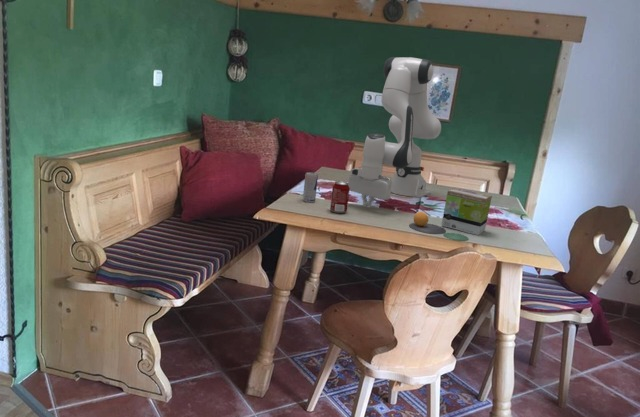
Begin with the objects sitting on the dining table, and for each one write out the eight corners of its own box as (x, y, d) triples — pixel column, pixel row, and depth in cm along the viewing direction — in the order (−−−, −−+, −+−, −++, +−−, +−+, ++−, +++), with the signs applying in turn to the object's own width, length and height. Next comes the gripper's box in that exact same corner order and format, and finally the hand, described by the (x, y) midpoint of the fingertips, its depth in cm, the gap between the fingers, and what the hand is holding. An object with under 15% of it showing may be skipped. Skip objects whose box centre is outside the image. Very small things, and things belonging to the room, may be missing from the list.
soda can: (345, 215, 206) (348, 185, 203) (328, 212, 207) (331, 183, 204) (347, 211, 212) (351, 182, 209) (331, 208, 213) (334, 180, 210)
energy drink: (316, 201, 224) (319, 173, 221) (312, 203, 219) (315, 175, 216) (305, 198, 226) (308, 171, 223) (300, 201, 221) (303, 173, 218)
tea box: (440, 226, 204) (446, 190, 201) (448, 222, 213) (454, 187, 209) (478, 236, 197) (485, 198, 193) (485, 231, 205) (492, 194, 202)
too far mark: (450, 231, 198) (450, 231, 198) (472, 238, 192) (472, 237, 192) (439, 235, 191) (439, 235, 191) (461, 242, 186) (461, 241, 186)
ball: (433, 221, 200) (422, 228, 204) (427, 209, 202) (416, 216, 205) (425, 222, 196) (414, 229, 200) (418, 209, 198) (408, 216, 202)
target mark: (421, 221, 209) (421, 220, 209) (452, 230, 200) (452, 230, 200) (402, 226, 198) (402, 225, 198) (434, 236, 190) (434, 235, 190)
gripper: (396, 177, 211) (391, 210, 214) (356, 168, 224) (352, 199, 227) (387, 178, 206) (382, 212, 210) (347, 169, 219) (343, 200, 222)
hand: (366, 205), depth 218 cm, fingers closed
